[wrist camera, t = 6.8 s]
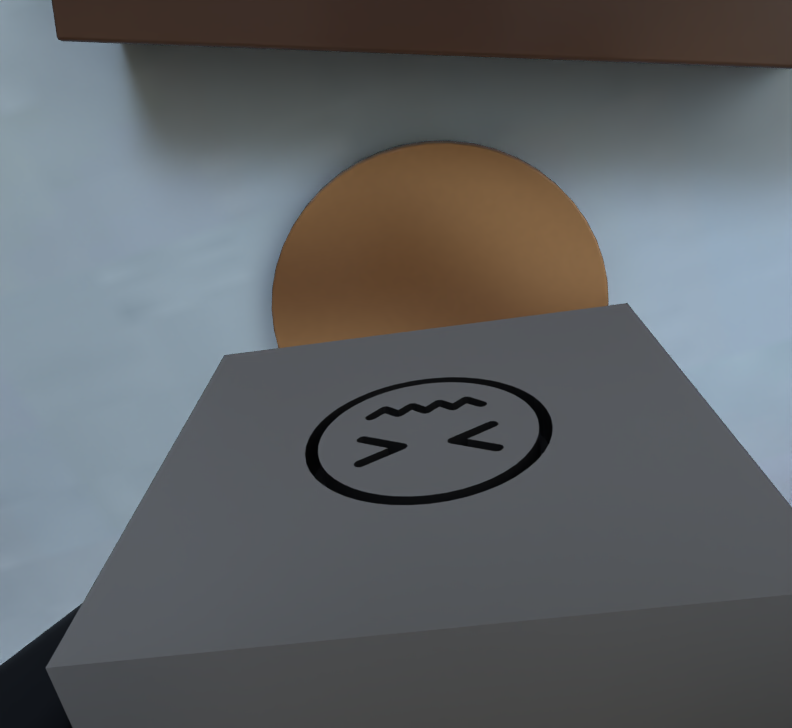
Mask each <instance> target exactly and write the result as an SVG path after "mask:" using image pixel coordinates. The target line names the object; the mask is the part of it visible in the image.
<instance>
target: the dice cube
mask: <svg viewBox="0 0 792 728" xmlns="http://www.w3.org/2000/svg"><path fill="white" fill-rule="evenodd" d="M46 670H47V672H48V675H49V677H50V679H51V681H52V683H53V686H54V688H55V690H56V692H57V694H58V697H59V699H60V701H61V703H62V705H63V708H64V710H65V712H66V714H67V716H68V719H69V721H70V723H71V725H72V727H73V728H792V507H791V506H790V504H789V503H788V502H787V501H786V500H785V498H784V497H783V496H782V495H781V493H780V492H779V491H778V490H777V488H776V487H775V486H774V485H773V483H772V482H771V481H770V480H769V478H768V477H767V476H766V475H765V473H764V472H763V471H762V470H761V469H760V467H759V466H758V465H757V464H756V462H755V461H754V460H753V459H752V457H751V456H750V455H749V454H748V452H747V451H746V450H745V449H744V447H743V446H742V445H741V444H740V442H739V441H738V440H737V439H736V438H735V436H734V435H733V434H732V433H731V431H730V430H729V429H728V428H727V426H726V425H725V424H724V423H723V421H722V420H721V419H720V418H719V416H718V415H717V414H716V413H715V411H714V410H713V409H712V408H711V407H710V405H709V404H708V403H707V402H706V400H705V399H704V398H703V397H702V395H701V394H700V393H699V392H698V390H697V389H696V388H695V387H694V385H693V384H692V383H691V382H690V380H689V379H688V378H687V377H686V376H685V374H684V373H683V372H682V371H681V369H680V368H679V367H678V366H677V364H676V363H675V362H674V361H673V359H672V358H671V357H670V356H669V354H668V353H667V352H666V351H665V349H664V348H663V347H662V346H661V345H660V343H659V342H658V341H657V340H656V338H655V337H654V336H653V335H652V333H651V332H650V331H649V330H648V328H647V327H646V326H645V325H644V323H643V322H642V321H641V320H640V318H639V317H638V316H637V315H636V314H635V312H634V311H633V310H632V309H631V307H630V306H629V305H628V304H627V303H625V304H618V305H610V306H602V307H594V308H587V309H579V310H571V311H563V312H556V313H548V314H540V315H533V316H525V317H517V318H509V319H502V320H494V321H486V322H478V323H471V324H463V325H455V326H447V327H440V328H432V329H424V330H416V331H409V332H401V333H393V334H385V335H378V336H370V337H362V338H354V339H347V340H339V341H331V342H323V343H316V344H308V345H300V346H292V347H285V348H277V349H269V350H261V351H254V352H246V353H238V354H230V355H224V357H223V359H222V360H221V362H220V364H219V366H218V367H217V369H216V371H215V373H214V374H213V376H212V378H211V380H210V381H209V383H208V385H207V387H206V388H205V390H204V392H203V394H202V395H201V397H200V399H199V401H198V402H197V404H196V406H195V408H194V409H193V411H192V413H191V415H190V416H189V418H188V420H187V422H186V423H185V425H184V427H183V429H182V430H181V432H180V434H179V436H178V437H177V439H176V441H175V443H174V444H173V446H172V448H171V450H170V451H169V453H168V455H167V457H166V458H165V460H164V462H163V464H162V465H161V467H160V469H159V471H158V472H157V474H156V476H155V478H154V479H153V481H152V483H151V484H150V486H149V488H148V490H147V491H146V493H145V495H144V497H143V498H142V500H141V502H140V504H139V505H138V507H137V509H136V511H135V512H134V514H133V516H132V518H131V519H130V521H129V523H128V525H127V526H126V528H125V530H124V532H123V533H122V535H121V537H120V539H119V540H118V542H117V544H116V546H115V547H114V549H113V551H112V553H111V554H110V556H109V558H108V560H107V561H106V563H105V565H104V567H103V568H102V570H101V572H100V574H99V575H98V577H97V579H96V581H95V582H94V584H93V586H92V588H91V589H90V591H89V593H88V595H87V596H86V598H85V600H84V602H83V603H82V605H81V607H80V609H79V610H78V612H77V614H76V616H75V617H74V619H73V621H72V623H71V624H70V626H69V628H68V630H67V631H66V633H65V635H64V637H63V638H62V640H61V642H60V644H59V645H58V647H57V649H56V651H55V652H54V654H53V656H52V658H51V659H50V661H49V663H48V665H47V666H46Z"/></svg>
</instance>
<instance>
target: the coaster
mask: <svg viewBox="0 0 792 728" xmlns="http://www.w3.org/2000/svg"><path fill="white" fill-rule="evenodd" d="M602 306H608V284H607V276H606V271H605V266H604V261H603V257H602V254H601V252H600V249H599V246H598V243H597V240H596V238H595V236H594V234H593V232H592V230H591V228H590V226H589V224H588V222H587V221H586V219H585V218H584V216H583V215H582V213H581V212H580V211H579V209H578V208H577V206H576V205H575V204H574V202H573V201H572V200H571V199H570V198H569V197H568V196H567V195H566V194H565V193H564V192H563V191H562V190H561V189H560V187H559V186H558V185H557V184H556V183H555V182H553V181H552V180H551V179H549V178H548V177H547V176H546V175H544V174H543V173H542V172H540V171H539V170H538V169H536V168H535V167H533V166H531V165H529V164H528V163H526V162H524V161H522V160H521V159H519V158H517V157H515V156H512V155H510V154H507V153H505V152H502V151H500V150H497V149H494V148H490V147H486V146H482V145H478V144H474V143H467V142H458V141H424V142H418V143H412V144H406V145H401V146H398V147H394V148H391V149H388V150H385V151H381V152H378V153H376V154H374V155H372V156H370V157H368V158H366V159H363V160H361V161H359V162H357V163H356V164H354V165H352V166H351V167H349V168H348V169H346V170H345V171H343V172H342V173H340V174H338V175H337V176H336V177H335V178H334V179H333V180H331V181H330V182H329V183H328V184H327V185H326V186H324V187H323V188H322V189H321V190H320V191H319V192H318V193H317V194H316V196H315V197H314V198H313V199H312V200H311V201H310V202H309V203H308V205H307V206H306V207H305V209H304V210H303V212H302V213H301V215H300V216H299V218H298V219H297V221H296V222H295V224H294V225H293V227H292V229H291V231H290V233H289V235H288V237H287V239H286V241H285V243H284V245H283V247H282V250H281V254H280V257H279V260H278V263H277V266H276V270H275V276H274V282H273V288H272V316H273V325H274V332H275V336H276V340H277V344H278V348H285V347H292V346H300V345H308V344H316V343H323V342H331V341H339V340H347V339H354V338H362V337H370V336H378V335H385V334H393V333H401V332H409V331H416V330H424V329H432V328H440V327H447V326H455V325H463V324H471V323H478V322H486V321H494V320H502V319H509V318H517V317H525V316H533V315H540V314H548V313H556V312H563V311H571V310H579V309H587V308H594V307H602Z"/></svg>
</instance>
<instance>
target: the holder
mask: <svg viewBox="0 0 792 728" xmlns="http://www.w3.org/2000/svg"><path fill="white" fill-rule="evenodd" d="M52 5H53V12H54V19H55V26H56V33H57V38H58V39H59V40H61V41H72V42H99V43H125V44H152V45H178V46H204V47H231V48H257V49H284V50H310V51H337V52H363V53H389V54H416V55H442V56H469V57H495V58H522V59H548V60H574V61H601V62H627V63H654V64H680V65H707V66H733V67H759V68H786V69H792V0H52Z"/></svg>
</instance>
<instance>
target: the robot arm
mask: <svg viewBox="0 0 792 728" xmlns="http://www.w3.org/2000/svg"><path fill="white" fill-rule="evenodd" d="M81 605H82V604H81ZM81 605H80V606H78V607H77V608H76V609H74V610H73V611H72V612H70V613H69V614H68V615H66V616H65V617H64V618H62V619H61V620H60V621H58V622H57V623H56V624H54V625H53V626H52V627H51V628H49V629H48V630H47V631H45V632H44V633H43V634H41V635H40V636H39V637H37V638H36V639H35V640H33V641H32V642H31V643H29V644H28V645H27V646H25V647H24V648H23V649H22V650H20V651H19V652H18V653H16V654H15V655H14V656H12V657H11V658H10V659H8V660H7V661H6V662H4V663H3V664H2V665H0V728H73V727H72V725H71V723H70V721H69V719H68V716H67V714H66V712H65V710H64V708H63V705H62V703H61V701H60V699H59V697H58V694H57V692H56V690H55V688H54V686H53V683H52V681H51V679H50V677H49V675H48V672H47V670H46V666H47V665H48V663H49V661H50V659H51V658H52V656H53V654H54V652H55V651H56V649H57V647H58V645H59V644H60V642H61V640H62V638H63V637H64V635H65V633H66V631H67V630H68V628H69V626H70V624H71V623H72V621H73V619H74V617H75V616H76V614H77V612H78V610H79V609H80V607H81Z"/></svg>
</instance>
